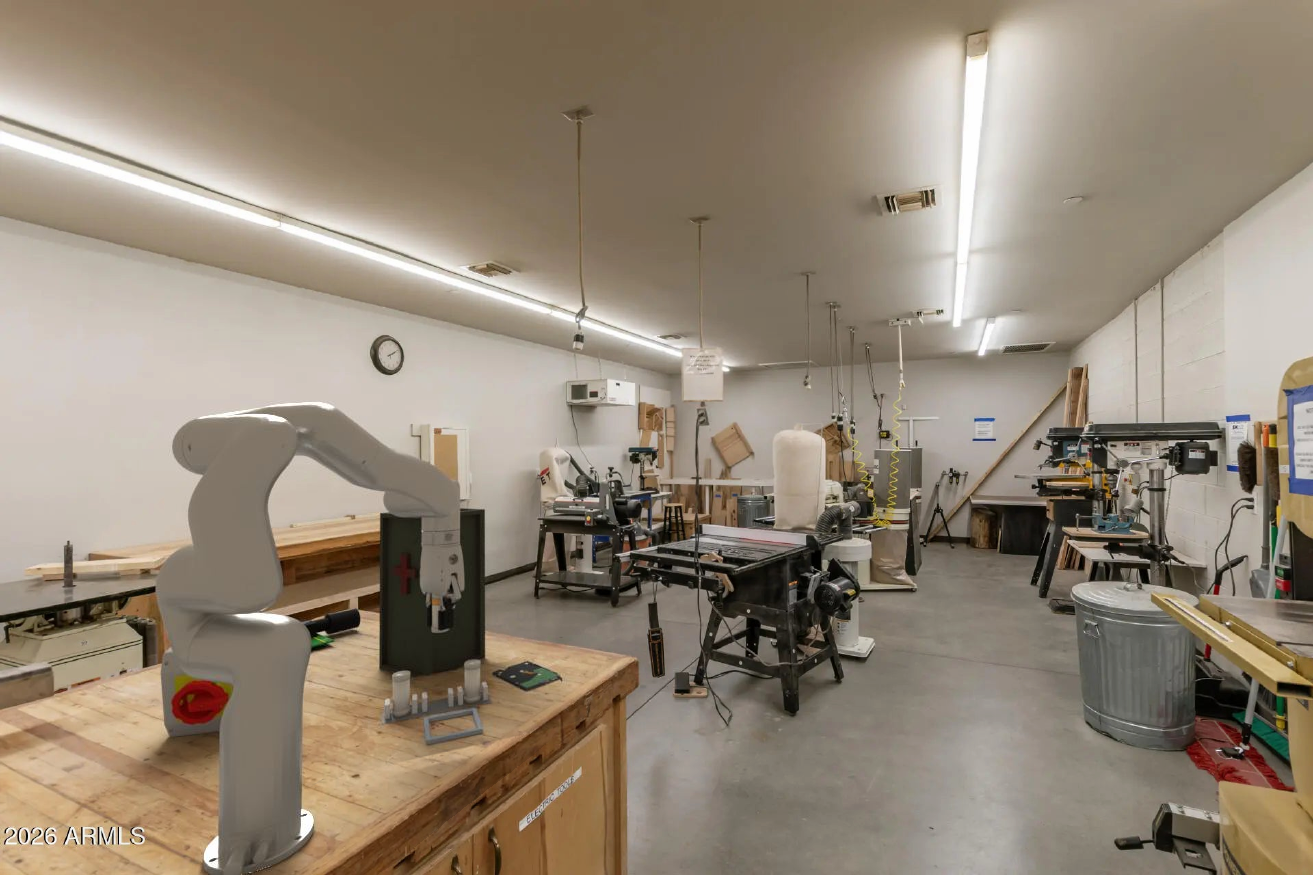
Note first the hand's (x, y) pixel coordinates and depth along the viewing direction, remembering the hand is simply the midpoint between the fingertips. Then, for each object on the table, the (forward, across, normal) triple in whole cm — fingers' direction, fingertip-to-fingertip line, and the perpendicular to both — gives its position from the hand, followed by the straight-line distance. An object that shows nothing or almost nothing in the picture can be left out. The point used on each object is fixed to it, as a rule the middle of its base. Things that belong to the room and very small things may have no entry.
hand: (440, 626), depth 115 cm
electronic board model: (+19, +75, -2) cm, 77 cm away
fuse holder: (+19, +3, -1) cm, 19 cm away
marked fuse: (+1, 0, 0) cm, 1 cm away
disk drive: (+19, 0, -23) cm, 30 cm away
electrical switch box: (+19, +32, +30) cm, 48 cm away
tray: (+19, -8, +2) cm, 21 cm away
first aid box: (+19, +31, -16) cm, 40 cm away
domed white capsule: (+17, +6, +5) cm, 19 cm away
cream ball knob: (+17, 0, -7) cm, 19 cm away
